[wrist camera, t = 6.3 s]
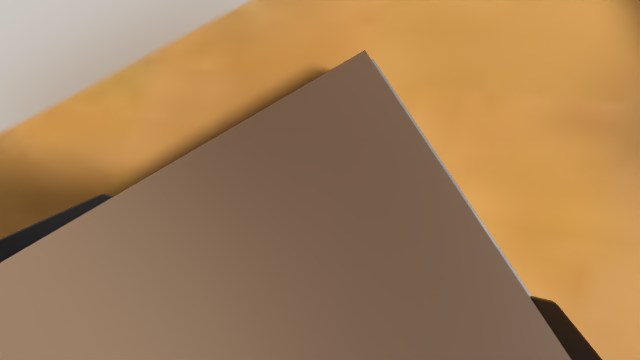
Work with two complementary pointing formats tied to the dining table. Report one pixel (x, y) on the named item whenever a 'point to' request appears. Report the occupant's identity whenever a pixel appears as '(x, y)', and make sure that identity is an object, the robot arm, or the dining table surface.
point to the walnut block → (280, 251)
